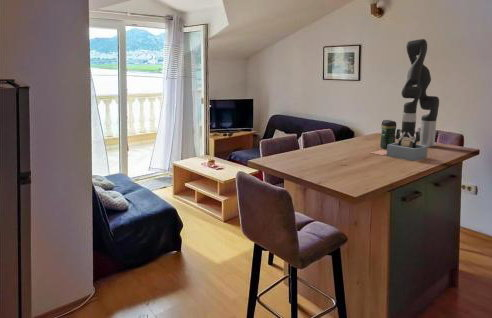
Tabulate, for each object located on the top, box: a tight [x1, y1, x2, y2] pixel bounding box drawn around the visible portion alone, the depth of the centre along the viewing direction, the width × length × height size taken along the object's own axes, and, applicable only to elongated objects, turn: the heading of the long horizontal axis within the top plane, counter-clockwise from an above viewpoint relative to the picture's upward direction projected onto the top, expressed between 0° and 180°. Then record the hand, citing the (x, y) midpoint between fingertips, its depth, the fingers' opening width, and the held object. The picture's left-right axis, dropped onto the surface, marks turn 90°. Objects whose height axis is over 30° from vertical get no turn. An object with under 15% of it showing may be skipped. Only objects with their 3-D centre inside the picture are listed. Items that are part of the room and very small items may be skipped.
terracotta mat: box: [369, 149, 387, 157], centre depth 257 cm, size 12×9×1 cm
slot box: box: [386, 141, 429, 162], centre depth 246 cm, size 14×18×7 cm
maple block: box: [401, 138, 413, 148], centre depth 245 cm, size 5×5×7 cm
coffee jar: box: [379, 119, 397, 150], centre depth 270 cm, size 10×8×19 cm
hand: (406, 147), depth 245 cm, fingers open, 8 cm apart
